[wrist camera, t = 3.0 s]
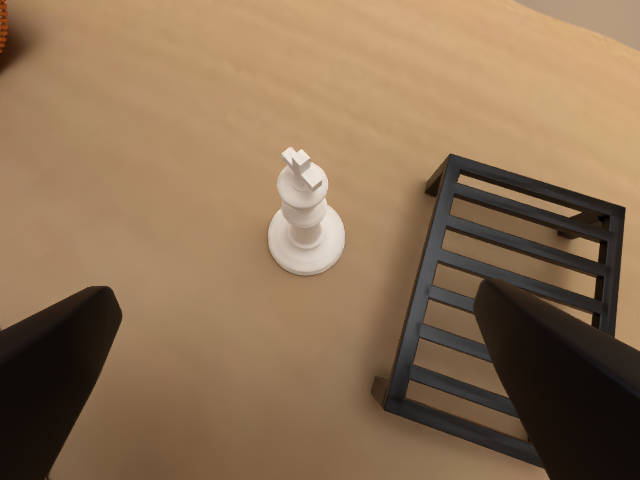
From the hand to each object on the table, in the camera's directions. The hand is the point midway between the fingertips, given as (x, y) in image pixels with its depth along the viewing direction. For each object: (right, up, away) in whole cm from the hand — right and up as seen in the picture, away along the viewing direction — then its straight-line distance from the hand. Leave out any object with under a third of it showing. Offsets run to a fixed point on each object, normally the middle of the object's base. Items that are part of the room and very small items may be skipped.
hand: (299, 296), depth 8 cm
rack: (+10, -3, +11) cm, 16 cm away
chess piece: (0, +1, +12) cm, 12 cm away
